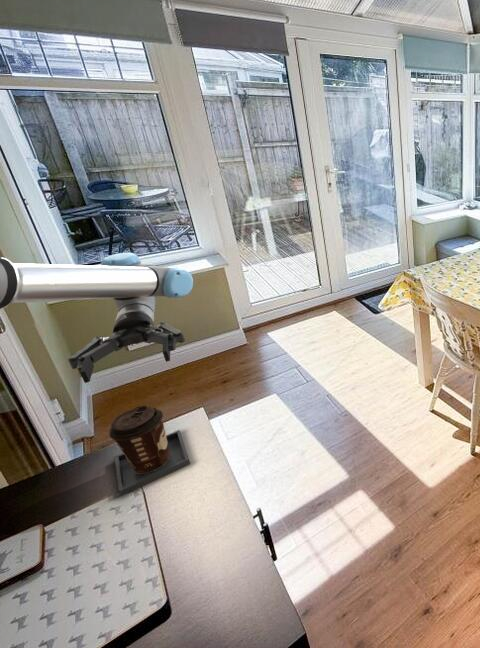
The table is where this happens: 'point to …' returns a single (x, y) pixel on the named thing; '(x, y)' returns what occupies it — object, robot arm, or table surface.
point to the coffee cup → (141, 438)
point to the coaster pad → (134, 481)
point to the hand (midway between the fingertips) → (127, 366)
